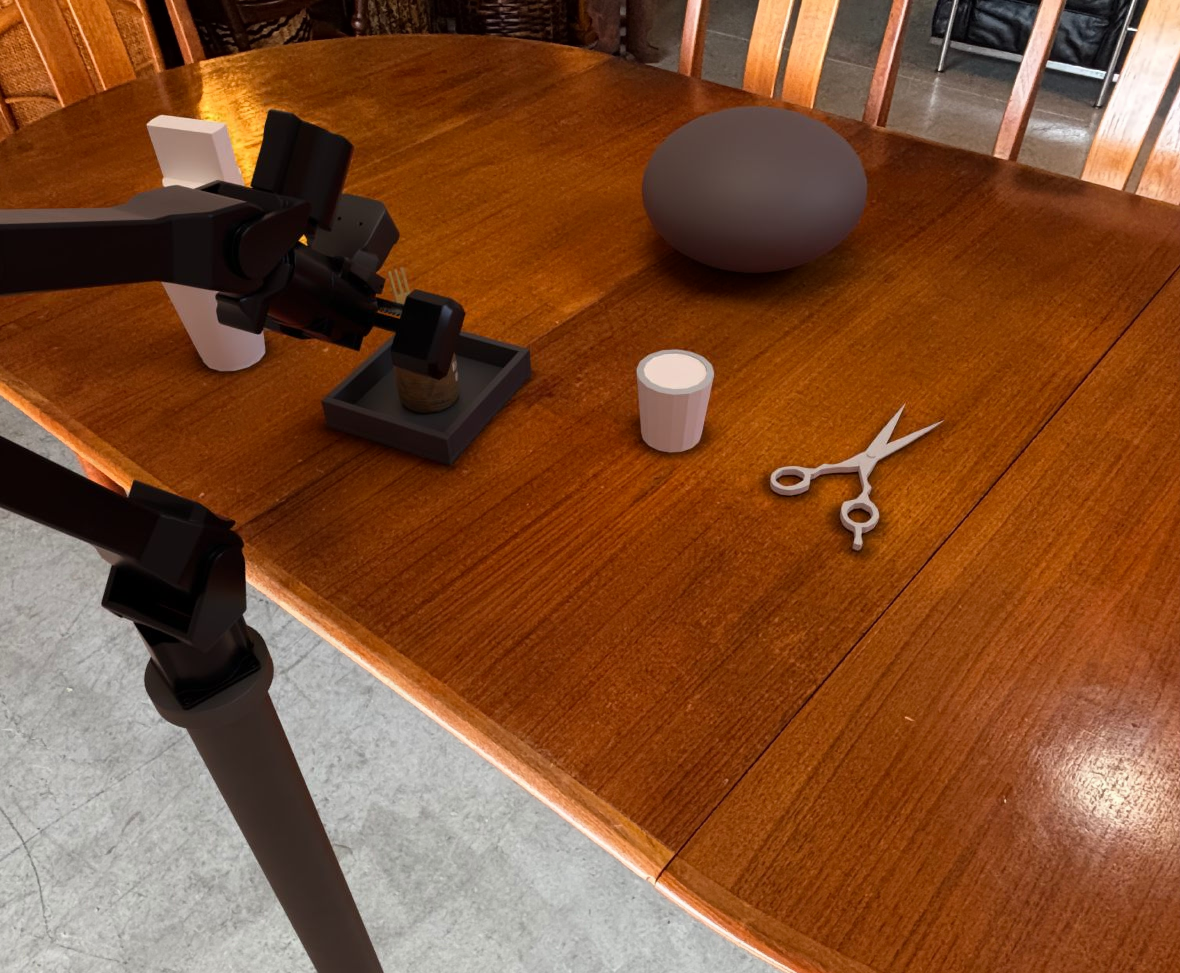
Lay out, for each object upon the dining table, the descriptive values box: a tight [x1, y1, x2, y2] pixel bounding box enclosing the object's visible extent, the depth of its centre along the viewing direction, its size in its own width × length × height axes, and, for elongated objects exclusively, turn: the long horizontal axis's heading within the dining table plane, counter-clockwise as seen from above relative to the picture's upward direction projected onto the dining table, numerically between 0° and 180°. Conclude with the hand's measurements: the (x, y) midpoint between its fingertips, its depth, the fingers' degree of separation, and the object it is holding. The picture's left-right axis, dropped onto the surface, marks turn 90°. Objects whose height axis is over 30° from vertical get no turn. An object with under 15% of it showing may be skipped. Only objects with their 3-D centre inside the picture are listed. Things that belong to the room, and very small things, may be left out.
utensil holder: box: [387, 266, 459, 413], centre depth 91 cm, size 6×6×12 cm
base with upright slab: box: [146, 114, 246, 189], centre depth 116 cm, size 9×9×12 cm
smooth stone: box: [641, 105, 868, 274], centre depth 109 cm, size 25×25×15 cm
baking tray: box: [320, 330, 532, 466], centre depth 95 cm, size 16×14×3 cm
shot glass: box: [636, 348, 715, 453], centre depth 89 cm, size 7×7×7 cm
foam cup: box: [161, 282, 266, 372], centre depth 97 cm, size 10×9×13 cm
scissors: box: [769, 402, 945, 551], centre depth 88 cm, size 11×1×20 cm
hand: (402, 340), depth 88 cm, fingers open, 9 cm apart
